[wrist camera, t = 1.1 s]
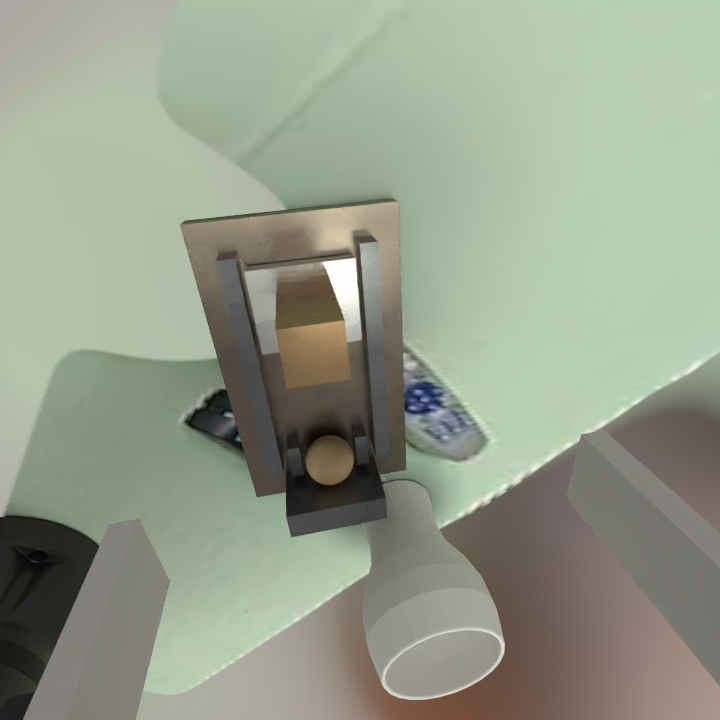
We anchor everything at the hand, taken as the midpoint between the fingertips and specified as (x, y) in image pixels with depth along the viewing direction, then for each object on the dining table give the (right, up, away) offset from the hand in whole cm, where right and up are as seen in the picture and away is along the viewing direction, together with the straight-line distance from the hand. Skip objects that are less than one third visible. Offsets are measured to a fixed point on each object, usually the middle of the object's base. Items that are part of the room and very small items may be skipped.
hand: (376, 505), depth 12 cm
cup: (+3, -11, +31) cm, 33 cm away
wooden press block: (-4, +8, +17) cm, 19 cm away
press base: (-4, +4, +21) cm, 22 cm away
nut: (-3, -3, +23) cm, 24 cm away
